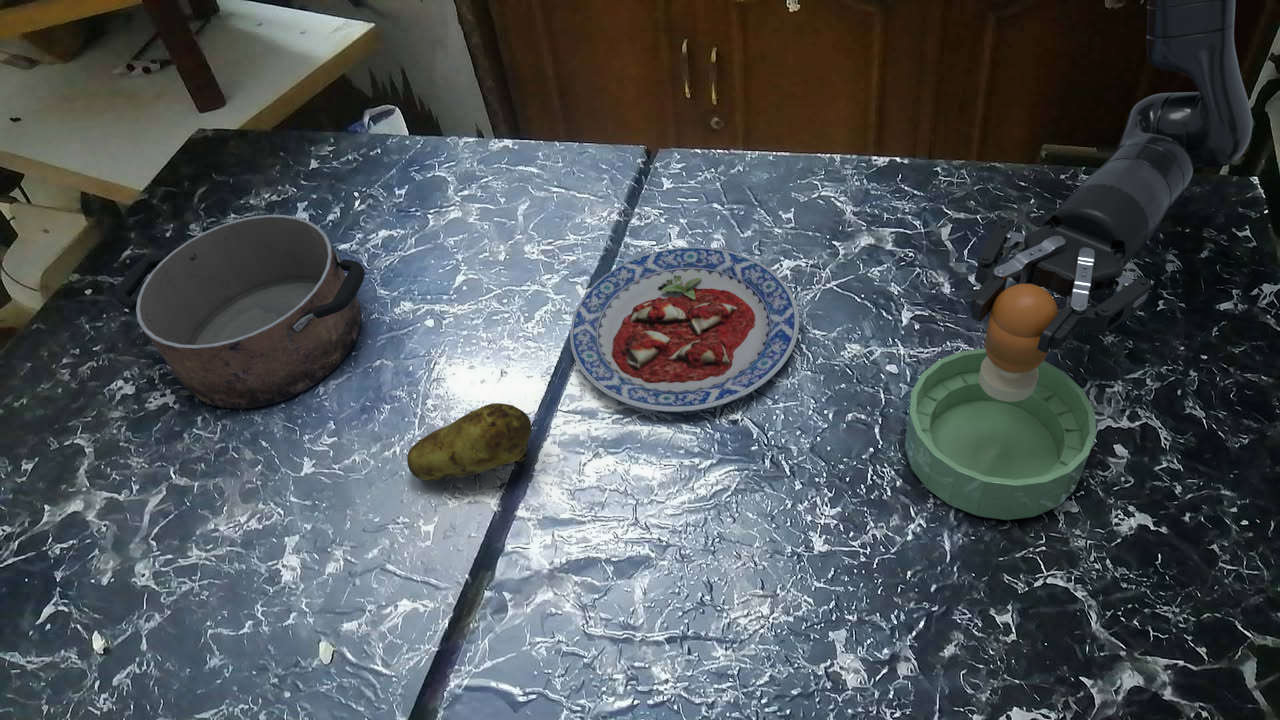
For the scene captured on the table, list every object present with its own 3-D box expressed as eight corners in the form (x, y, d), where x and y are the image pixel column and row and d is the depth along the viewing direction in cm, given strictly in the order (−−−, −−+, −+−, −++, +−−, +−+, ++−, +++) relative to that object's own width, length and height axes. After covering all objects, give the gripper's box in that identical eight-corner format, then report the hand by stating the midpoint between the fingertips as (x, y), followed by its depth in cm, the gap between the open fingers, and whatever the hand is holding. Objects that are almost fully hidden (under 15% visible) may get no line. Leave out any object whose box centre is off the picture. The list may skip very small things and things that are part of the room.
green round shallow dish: (1044, 379, 95) (1057, 338, 91) (1109, 511, 84) (1126, 472, 80) (887, 398, 96) (891, 359, 92) (930, 532, 85) (937, 494, 81)
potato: (439, 426, 101) (417, 378, 95) (549, 442, 98) (534, 393, 92) (407, 488, 96) (382, 441, 90) (523, 508, 92) (504, 460, 86)
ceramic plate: (777, 439, 94) (776, 421, 92) (542, 405, 101) (536, 387, 99) (815, 270, 110) (815, 251, 108) (610, 251, 117) (607, 233, 115)
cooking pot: (416, 282, 118) (390, 216, 110) (351, 419, 103) (315, 353, 95) (208, 276, 124) (169, 213, 116) (118, 404, 109) (66, 341, 101)
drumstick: (1026, 356, 85) (1050, 266, 77) (1046, 399, 81) (1074, 310, 73) (968, 363, 85) (987, 275, 77) (986, 407, 81) (1008, 319, 73)
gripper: (1038, 156, 84) (936, 259, 76) (1204, 215, 76) (1108, 335, 69) (1023, 221, 89) (926, 322, 82) (1176, 282, 81) (1084, 400, 74)
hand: (1009, 328), depth 75 cm, fingers closed on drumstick, 5 cm apart
